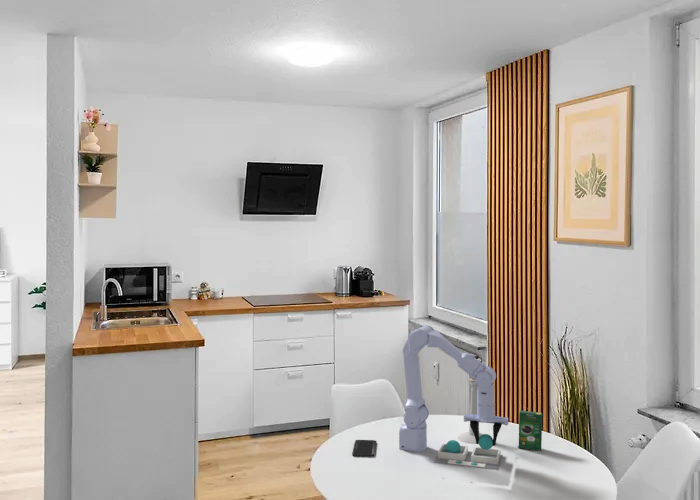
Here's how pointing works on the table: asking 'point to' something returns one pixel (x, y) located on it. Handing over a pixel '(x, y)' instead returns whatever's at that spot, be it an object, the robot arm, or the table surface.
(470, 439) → the candlestick
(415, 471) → the table surface
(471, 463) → the sorting tray
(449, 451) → the seated teal ball
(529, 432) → the coffee box
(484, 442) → the loose teal ball
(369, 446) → the phone
